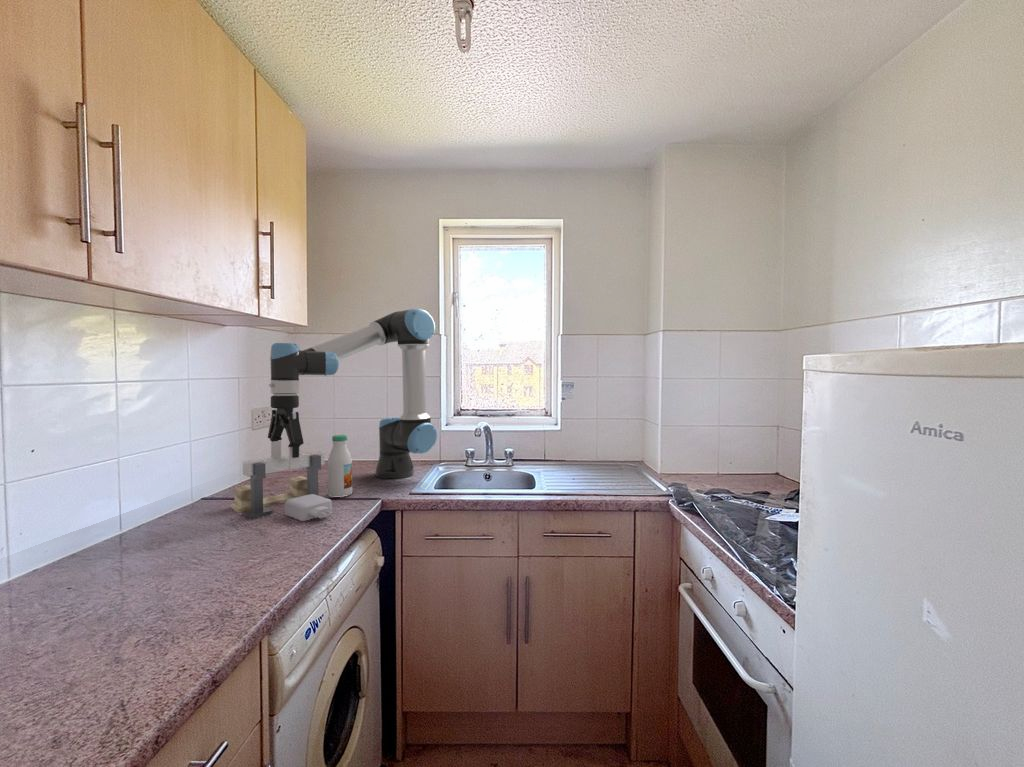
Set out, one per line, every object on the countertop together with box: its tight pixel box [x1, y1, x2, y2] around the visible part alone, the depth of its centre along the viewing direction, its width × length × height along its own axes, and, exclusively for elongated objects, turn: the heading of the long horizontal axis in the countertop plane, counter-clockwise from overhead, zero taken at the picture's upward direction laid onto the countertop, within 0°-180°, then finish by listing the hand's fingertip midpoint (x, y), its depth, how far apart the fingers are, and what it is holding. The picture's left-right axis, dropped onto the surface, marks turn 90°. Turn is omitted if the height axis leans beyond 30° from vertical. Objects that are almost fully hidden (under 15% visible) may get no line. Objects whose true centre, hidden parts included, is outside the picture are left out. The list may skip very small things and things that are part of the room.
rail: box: [242, 451, 325, 477], centre depth 133 cm, size 22×4×4 cm, turn 138°
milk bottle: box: [327, 434, 353, 496], centre depth 147 cm, size 8×8×20 cm
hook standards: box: [241, 455, 322, 520], centre depth 133 cm, size 22×7×15 cm, turn 138°
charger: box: [284, 494, 335, 522], centre depth 126 cm, size 5×9×15 cm
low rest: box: [229, 475, 307, 513], centre depth 140 cm, size 22×7×6 cm, turn 138°
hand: (284, 465), depth 133 cm, fingers open, 13 cm apart
